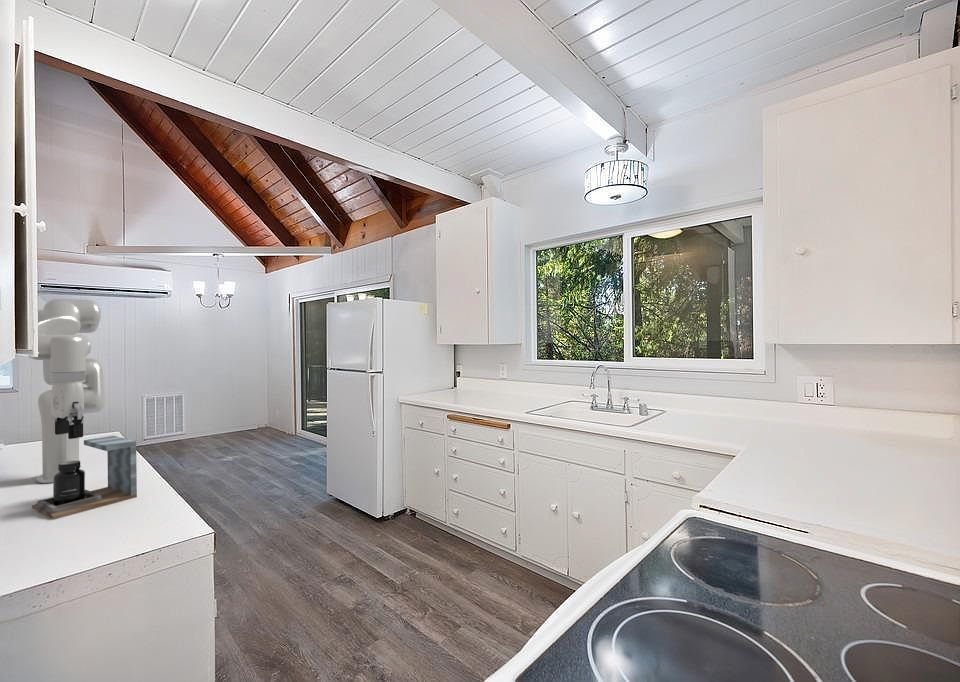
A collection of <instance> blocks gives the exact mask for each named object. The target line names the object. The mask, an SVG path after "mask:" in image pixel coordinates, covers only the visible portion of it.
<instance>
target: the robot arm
mask: <svg viewBox="0 0 960 682" xmlns="http://www.w3.org/2000/svg"><path fill="white" fill-rule="evenodd" d="M37 311H38V352H39V354H38V357H31V356H28V357H29V358H30V359H32V360H36V361H42V373H43V374H42V375H43V376H42V377H43V380H44V382H45V384H47V385H49V386H51V389H48V390H45V391H43V392H42V393H41V394H40V395H39V396H38V399H37V406H38V410H39V416H40V422H41V443H42V444H41V447H42V449H41V452H42V458H41V459H42V461H41V463H42V475H39V476H38V477H36V480H35V481H36V483H38V484H51V483H53V478H54V475H55V474H57V473H58V472H59V471H58V464H59V463H62V462H67V461H80V438H83V437H84V415H85V414H91V413H92V414H93V413H98V412H100V411H102V410H103V408H104V407H105V387H104V371H103V366H102V363H101V361H100V360H98V359H97V358H89V357H87V356H88V355H89V354H90V353H91V351H92V343H91V340H90V339H88V337H86V336H85V335H81V334H91V333H94V332H96V331H97V329H98V327H99V324H100V322H101V319H102V310H101V307H100V305H99V304H98V303H97V302H96V301H94V300H93V299H92V300H91V299H76V298H54V299H51V300H49V301H47V302H46V303H45V304H44V305H43V309H39V310H37ZM83 385H85V386H86V387H85V386H84V387H83ZM82 470H83V471H84V472H85V473H86V470H85V469H82Z"/></svg>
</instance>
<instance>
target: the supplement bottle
mask: <svg viewBox="0 0 960 682" xmlns="http://www.w3.org/2000/svg"><path fill="white" fill-rule="evenodd" d="M83 470H84V469H81V460H79V461H67V462H62V463H59V464H58V471H59V472H58V473H57V474H55V475H54V478H53V484H52V485H53V486H52V488H53V489H52V491H53V492H52V494H53V495H52V496H53V505H54V506H58V505H62V504H66V503H70V502H74V501H78V500H82V499H85V490H86V489H85V488H86V478H85V477H86V471H85V472H84V471H83Z"/></svg>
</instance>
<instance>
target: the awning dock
mask: <svg viewBox="0 0 960 682" xmlns="http://www.w3.org/2000/svg"><path fill="white" fill-rule="evenodd" d="M83 446H86V447H89V448H94V449H97V450H100V451H104V452H107V453H106V454H107V486H106V487H101V488H97V489H93V490H89V489H88V490H87V489H85V499H82V500H78V501H74V502H70V503H66V504H62V505H58V506H54V505H53V497H48V498H44V499H41V500H37V502H36V504H32V505H31V509H32V510H34V511H35V512H38V513H40V514H42V515H43V516H45V517H47V516H48V517H47V518H49V517H50V518H49V519H51V518H52V519H51V520H57V519H61V518H64V517H67V516H71V515H75V514H79V513H83V512H86V511H90V510H94V509H97V508H102V507H106V506H108V505H112V504H117V503H120V502H124V501H128V500H131V499H134V498H137V497H138V494H137V493H138V484H137V481H138V480H137V476H138V475H137V474H138V473H137V471H138V470H137V440H133V439H129V438H125V437H121V436H117V435H108V436H101V437H96V438H95V437H94V438H89V439H84V440H83Z"/></svg>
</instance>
